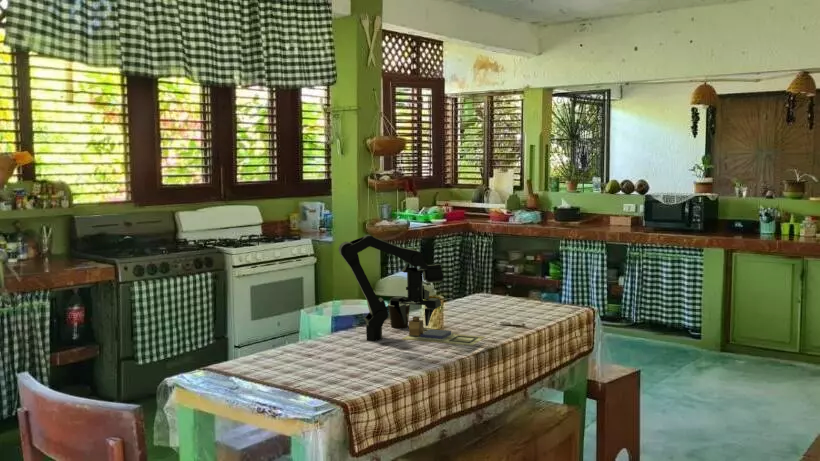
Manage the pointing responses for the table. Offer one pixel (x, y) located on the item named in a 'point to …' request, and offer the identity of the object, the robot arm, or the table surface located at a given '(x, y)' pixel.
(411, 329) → the stamp
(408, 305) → the coffee mug
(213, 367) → the table surface
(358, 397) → the table surface
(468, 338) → the station board
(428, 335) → the ink pad
